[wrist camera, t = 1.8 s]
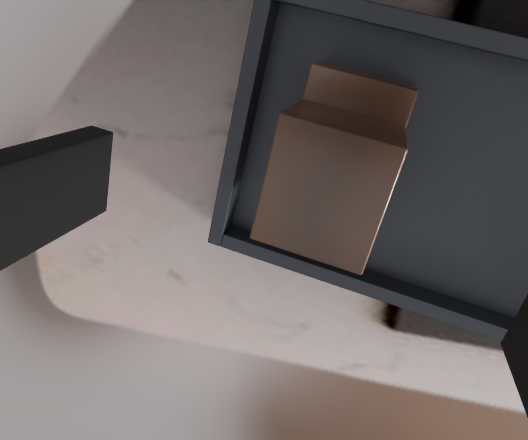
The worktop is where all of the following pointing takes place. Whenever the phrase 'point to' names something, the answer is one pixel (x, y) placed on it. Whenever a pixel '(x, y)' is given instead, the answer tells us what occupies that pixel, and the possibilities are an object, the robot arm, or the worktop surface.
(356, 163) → the brown t-shaped block
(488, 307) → the tray
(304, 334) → the worktop surface
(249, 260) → the worktop surface
